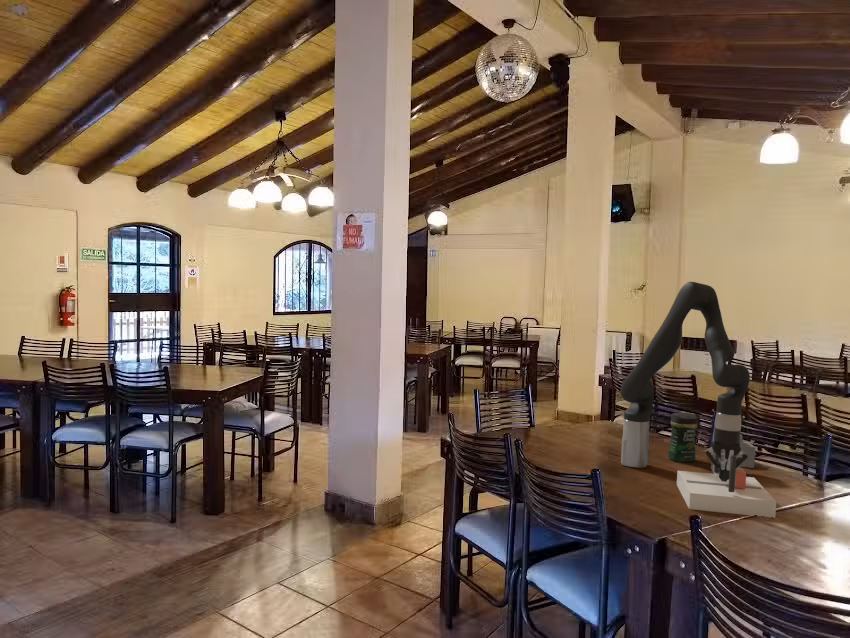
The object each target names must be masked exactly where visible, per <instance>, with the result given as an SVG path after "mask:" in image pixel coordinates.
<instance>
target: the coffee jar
mask: <svg viewBox="0 0 850 638" xmlns="http://www.w3.org/2000/svg"><path fill="white" fill-rule="evenodd" d="M670 426H671V432H670V433H671V434H670V440H669V441H670V442H669V447H668V452H667V453H668V454H667V457H668V458H669V459H670V460H671V461H675V462H678V463H691V462H695V460H696V437H695V436H696V430H697V428H698V416H697V415H696V414H694V413H690V412H677V413H676V412H675V413H674V412H672V414H671V418H670Z"/></svg>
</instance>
